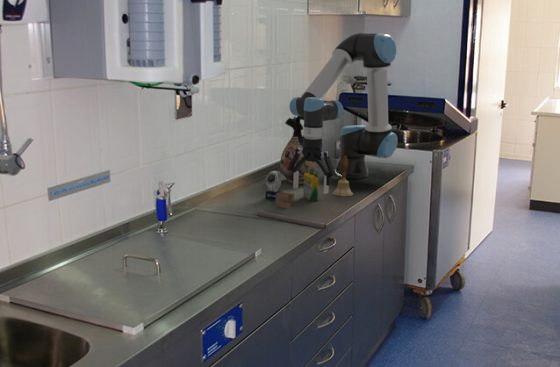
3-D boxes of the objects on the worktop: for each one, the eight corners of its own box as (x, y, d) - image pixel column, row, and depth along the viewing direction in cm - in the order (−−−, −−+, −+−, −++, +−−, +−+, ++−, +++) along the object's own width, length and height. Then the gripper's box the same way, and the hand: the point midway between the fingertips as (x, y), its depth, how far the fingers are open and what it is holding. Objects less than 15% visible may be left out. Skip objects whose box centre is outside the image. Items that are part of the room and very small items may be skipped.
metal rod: (260, 215, 240) (260, 210, 239) (326, 228, 226) (326, 223, 225) (257, 216, 238) (257, 211, 238) (323, 230, 224) (323, 224, 224)
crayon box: (302, 197, 265) (303, 168, 262) (309, 196, 266) (310, 168, 263) (311, 201, 259) (312, 172, 256) (318, 201, 260) (319, 172, 257)
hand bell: (341, 190, 277) (343, 153, 273) (357, 194, 271) (359, 156, 268) (328, 193, 271) (330, 155, 268) (344, 197, 266) (345, 158, 262)
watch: (263, 199, 259) (263, 172, 257) (272, 195, 266) (272, 168, 264) (275, 201, 257) (276, 174, 254) (284, 197, 264) (285, 170, 261)
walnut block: (282, 203, 255) (282, 191, 253) (293, 205, 252) (294, 193, 251) (275, 206, 250) (275, 194, 249) (287, 208, 248) (287, 196, 247)
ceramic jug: (272, 181, 289) (273, 113, 282) (294, 176, 301) (296, 110, 294) (302, 188, 279) (304, 117, 272) (324, 182, 290) (327, 114, 283)
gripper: (280, 135, 260) (278, 187, 265) (337, 142, 247) (334, 197, 252) (289, 133, 266) (288, 184, 271) (346, 139, 253) (343, 193, 258)
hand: (310, 190), depth 261 cm, fingers open, 13 cm apart
